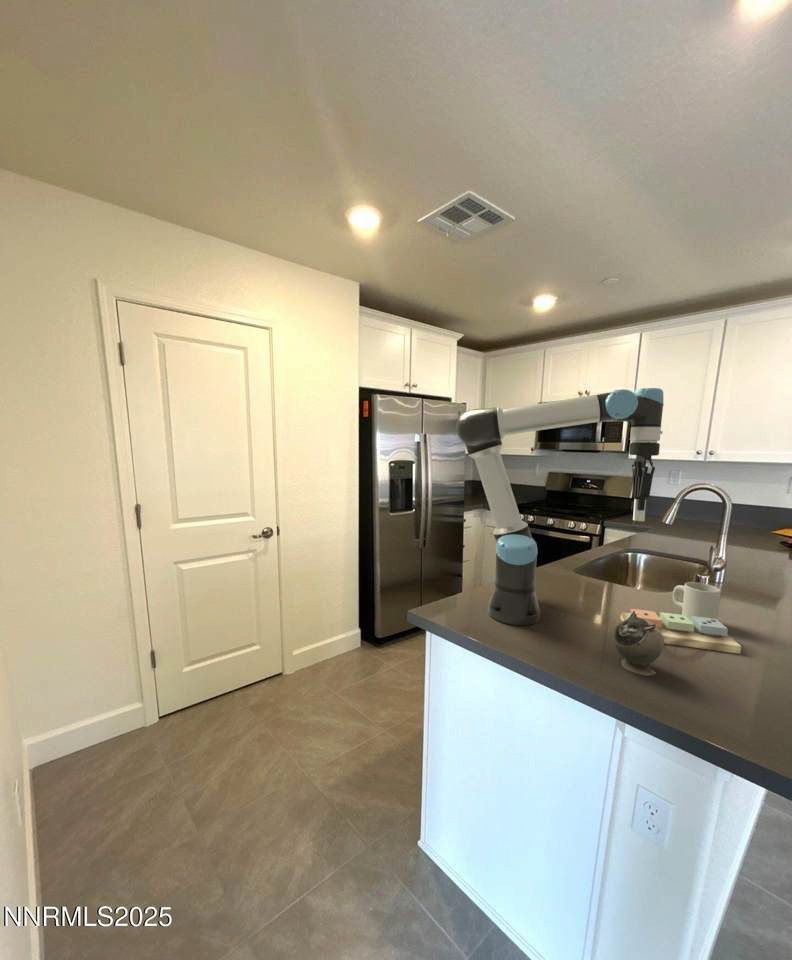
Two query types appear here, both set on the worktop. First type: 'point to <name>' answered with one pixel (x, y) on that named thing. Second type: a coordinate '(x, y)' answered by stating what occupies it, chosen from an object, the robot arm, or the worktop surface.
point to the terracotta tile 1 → (648, 616)
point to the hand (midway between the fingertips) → (638, 520)
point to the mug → (698, 600)
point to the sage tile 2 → (676, 622)
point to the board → (696, 639)
